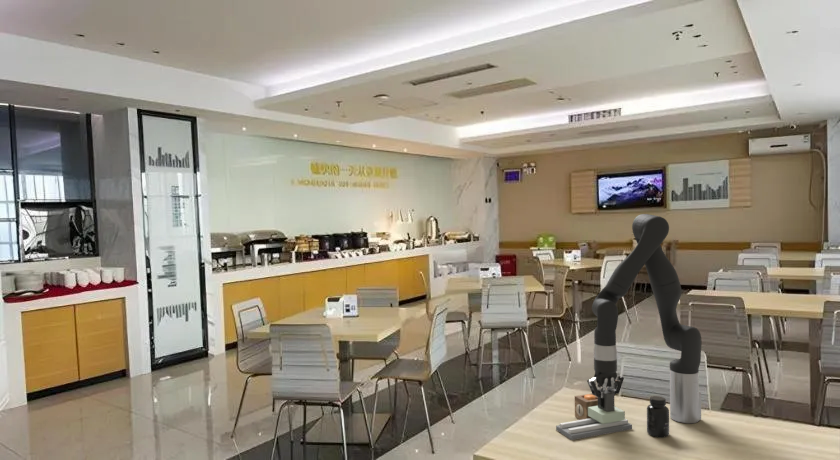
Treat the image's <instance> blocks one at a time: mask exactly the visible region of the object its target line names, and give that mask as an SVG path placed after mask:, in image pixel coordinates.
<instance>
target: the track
mask: <svg viewBox="0 0 840 460" xmlns="http://www.w3.org/2000/svg"><path fill="white" fill-rule="evenodd" d="M632 429H633V423H632V424H631V423H629V420H628V419H627V418H625V420H622V421H616V422H611V423H605V424H602V423H600V422H598V421H597V420H595V419H593V418H589V419H583V420H580V419H578V420H572V421H566V422H561V423H560V422H559V424H558V425H555V430H556V432H557V433H558V432H559V433H560V434H561V435H563V436H565V437H566V438H568V439H569V440H570V441H575V440H580V439H585V438H591V437H597V436H601V435H607V434H613V433H618V432H624V431H629V430H632Z"/></svg>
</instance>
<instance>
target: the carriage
mask: <svg viewBox="0 0 840 460" xmlns="http://www.w3.org/2000/svg"><path fill="white" fill-rule="evenodd" d="M603 398H604V408H600V407H599V406H592V407H588V416H589V417H591V418H593V419H595V420H597V421H598V422H600V423H602V424H605V423H611V422H616V421H622V420H625V419H626V411H625V410H623V409H621V408H619V407H617V406H615V396H614V393H612V392H610V391H608V390H607V389H606V391H605V392H604V397H603Z"/></svg>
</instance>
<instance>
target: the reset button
mask: <svg viewBox="0 0 840 460" xmlns="http://www.w3.org/2000/svg"><path fill="white" fill-rule="evenodd" d="M587 394H588V395H585V394H583V395H584V398H585V399H586V400H595V396H594V395H589V394H590V393H587Z"/></svg>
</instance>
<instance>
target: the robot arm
mask: <svg viewBox="0 0 840 460" xmlns="http://www.w3.org/2000/svg"><path fill="white" fill-rule="evenodd" d="M631 229H632V233H633V234H632V235H633V236H634V240H635V241H636V244H637V245H636V246H635V247H634V249H633V250H632V251H631V252H630V253H629V254H628V255H627V256H626V257H625V258H624V259H623V260H622V261H621V262H619V264H618V265H617V266H616V267H615V269H614V271H613V273H612V274H611V276H610V277H609V280H607V283H606V285H605V286H603V288H602V289H601V290H600V292H599V293H597V295H596V297H595V299H594V300H593V303H592V304H591V305H592V306H591V310H592V313H593V315H595V316H596V317H597V318H596V321H597V322H596V327H595V328H594V330H593V331H594V333H593V334H594V335H593V336H594V337H593V338H594V341H593V342H594V345H593V369H594V374H593V377H592V378H591V379H587V380H586V381H587V384H588V387H589V389H590V392H591V393H592V394H593V395H595V396H597V397H598V406H599V407H600V408H604V398H603V397H604V392H605V391H606V390H608V391H610V392H612V393H614V397H615V396H616V395H617V394H620V392H621V389H622V386H623V383H624V379H625V377H624V376H622V375H619V374H617V371H618V349H617V334H616V332H617V326H618V321H619V309H618V306H617V303H618V301H619V300H620V299H621V298H623V297H625V296H626V294H627V293H628V292H629V289H630V288H631V286H632V284H633V283H634V281H635V280H636V277H637V275H638V274H639V273H640V271H641V270H642V269H643V267H645V270H646V272H647V276H648V279H649V280H648V281H649V284H650V287H651V290H652V293H653V296H654V300H655V303H656V306H657V310H658V314H659V319H660V324H661V330H662V335H663V340H664V342H665V344H666V346H667V347H669V349H672V350H676V351H679V352H681V353H680V358H677V359H676V358H675V359H672V360H671V361H670V362H669V418H670V419H672V420H673V421H675V422H678V423H683V424H695V423H698V422H699V421H700V420H702V392H700V387H699V386H700V383H699V382H700V380H699V379H700V376H699V369H700V365H701V359H702V358H701V357H702V335H701V332H700V330H699V329H698V328H697V327H694V326H690V325H684V324H681V323H680V321H679V318H678V313H677V308H678V304H679V303H680V302H679V301H680V300H681V299H680V298H681V296H682V287H681V286H682V285H681V282H680V279H679V275H678V273H677V271H676V269H675V267H674V265H673V264H672V262H671V261H670V259H669V258H668V257H667V256H666V254H665V252H664V250H663V248H662V246H661V245H662V243H663V242H664V241H665V239H666V238H667V236H668V234H669V230H670V225H669V222H668V221H667V219H666V218H664V217H662V216H660V215H659V216H658V215H656V214H655V215H654V214H649V213H642V214H639V215H637V216H636V217H635V218H634V220H633V221H632V225H631Z"/></svg>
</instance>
